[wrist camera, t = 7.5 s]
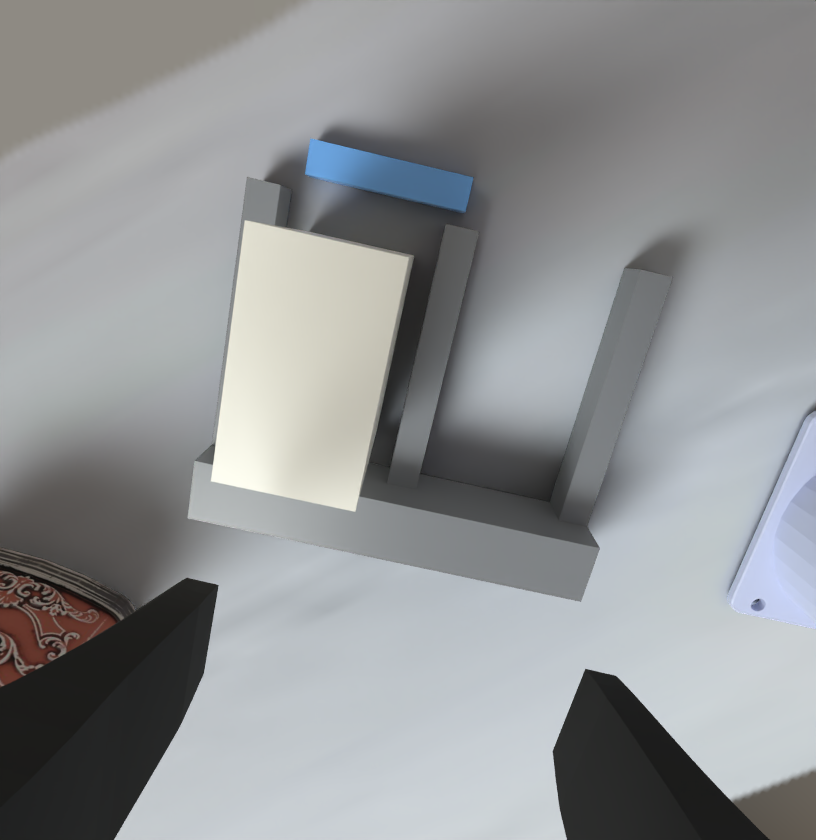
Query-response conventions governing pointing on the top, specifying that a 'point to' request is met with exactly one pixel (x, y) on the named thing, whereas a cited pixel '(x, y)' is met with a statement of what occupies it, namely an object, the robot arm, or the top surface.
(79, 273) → the top surface
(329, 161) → the blue rectangular bar
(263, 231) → the cream rectangular block
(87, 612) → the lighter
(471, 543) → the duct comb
